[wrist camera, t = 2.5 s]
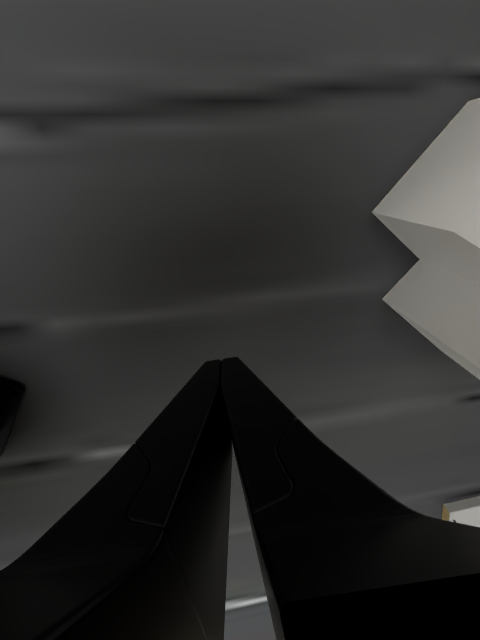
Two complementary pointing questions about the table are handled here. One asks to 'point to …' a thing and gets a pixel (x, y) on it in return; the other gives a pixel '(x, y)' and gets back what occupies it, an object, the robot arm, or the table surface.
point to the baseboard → (463, 511)
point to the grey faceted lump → (442, 240)
